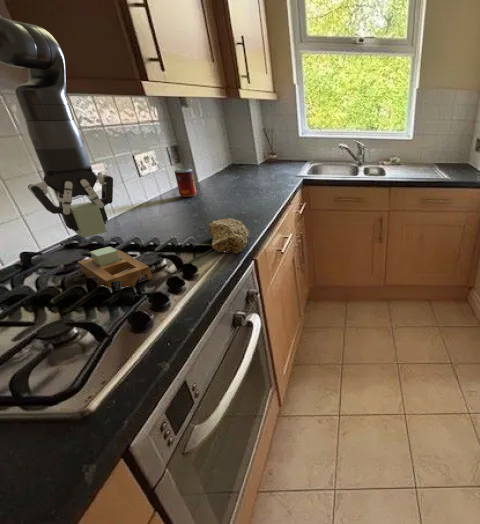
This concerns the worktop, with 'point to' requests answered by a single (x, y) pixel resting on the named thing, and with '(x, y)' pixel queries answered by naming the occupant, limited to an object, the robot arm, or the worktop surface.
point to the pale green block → (88, 219)
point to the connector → (116, 270)
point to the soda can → (185, 182)
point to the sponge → (228, 235)
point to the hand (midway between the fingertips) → (89, 226)
